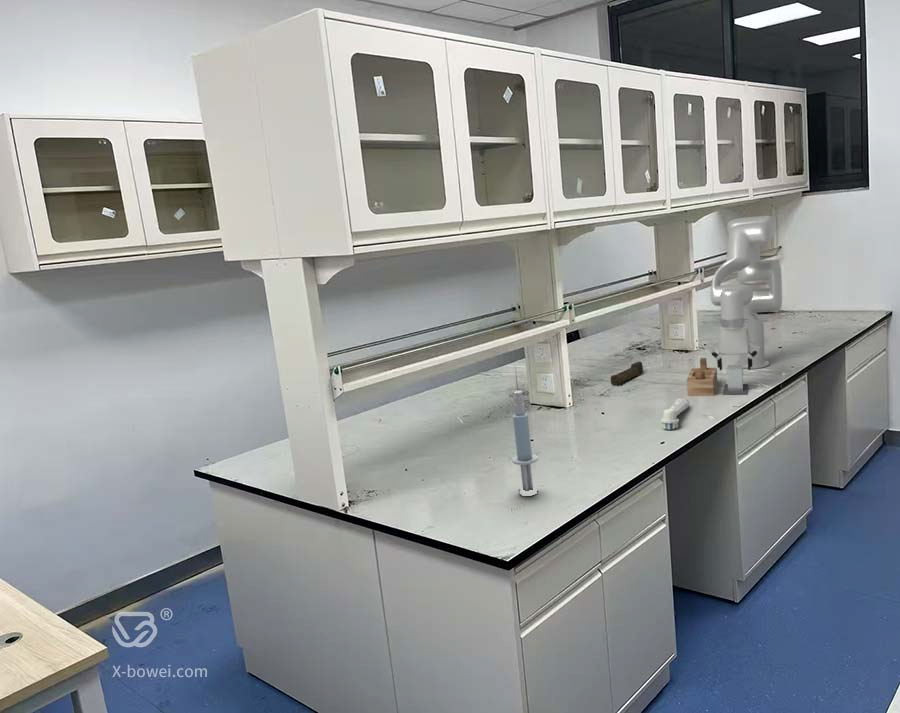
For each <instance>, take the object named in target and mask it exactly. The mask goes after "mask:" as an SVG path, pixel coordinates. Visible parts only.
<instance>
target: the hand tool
mask: <svg viewBox="0 0 900 713" xmlns="http://www.w3.org/2000/svg"><path fill="white" fill-rule="evenodd" d="M643 373H644V367H643V362H641V361H637V362H634V363H632V364H630V367H629V368H627V369H625V370H623V371H620V372H619V373H616V374H614V375H611V376H610V384H611V385H612V386H616V387H620V386H621V385H624V384H623V383H625V382H627V381H629V380H630V379H632V378H634V377H635V378H636V377H640V376H641V375H642V374H643Z"/></svg>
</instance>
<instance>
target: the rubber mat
mask: <svg viewBox="0 0 900 713" xmlns="http://www.w3.org/2000/svg"><path fill="white" fill-rule="evenodd" d="M743 385H744V386H743V391H728V383H725V384H724V386H723V391H722V396H736V395H737V396H744V395H745V396H747V395H748V389H749V382H747V383H743Z"/></svg>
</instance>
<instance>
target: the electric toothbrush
mask: <svg viewBox="0 0 900 713" xmlns="http://www.w3.org/2000/svg"><path fill="white" fill-rule="evenodd" d="M673 403H674V404H673V405H671V407H669V408H667V409H664V410H663V416H662V418H661V419H660V423H661V427H662V429H664V430H675V429H678V428H679V422H680V419H679V418H677V416H678V415H680V414H681V413H682V412H685V411H686V410H687V409H688V408H689V406H690V405H689V404H690V402H689V400H688V399H686V398H685V397H680V398H677V399H675V401H674V402H673Z"/></svg>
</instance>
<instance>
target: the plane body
mask: <svg viewBox="0 0 900 713" xmlns="http://www.w3.org/2000/svg"><path fill="white" fill-rule="evenodd" d="M699 366H700V367H692V368H691V369H690V371H689V374H688V375H687V376H688V377H687V378H686V392H687V396H688V397H694V396H695V397H702V396H703V397H710V396H711V397H714V396H715V392H716V389H717V386H718V369H717V368H718V367H708V363H707V357H700V359H699Z"/></svg>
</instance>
